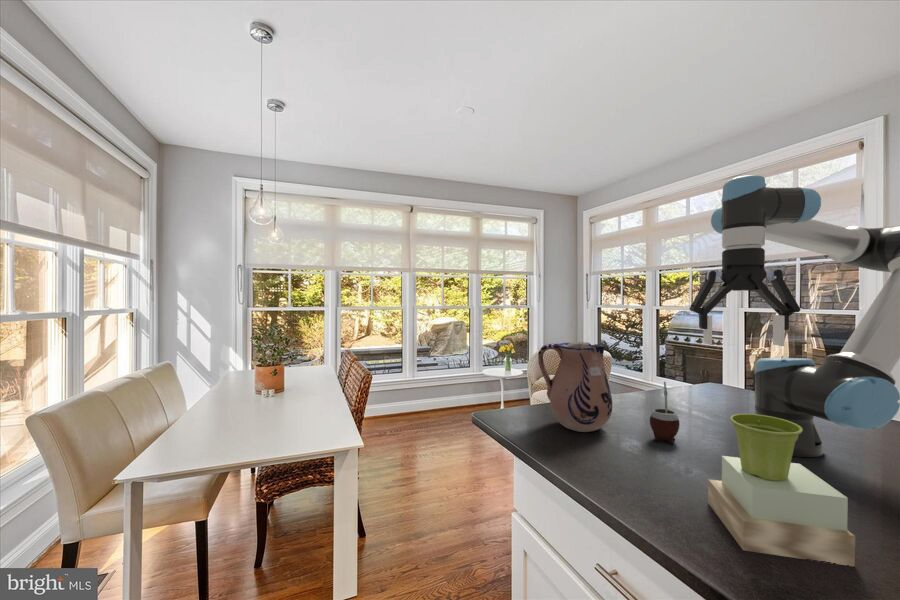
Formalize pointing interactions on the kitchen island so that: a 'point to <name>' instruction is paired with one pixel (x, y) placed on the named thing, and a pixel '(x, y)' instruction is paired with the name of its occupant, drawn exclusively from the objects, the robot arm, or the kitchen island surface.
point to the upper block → (787, 496)
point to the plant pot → (765, 444)
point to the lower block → (779, 532)
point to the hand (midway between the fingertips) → (742, 344)
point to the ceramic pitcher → (578, 386)
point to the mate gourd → (664, 423)
